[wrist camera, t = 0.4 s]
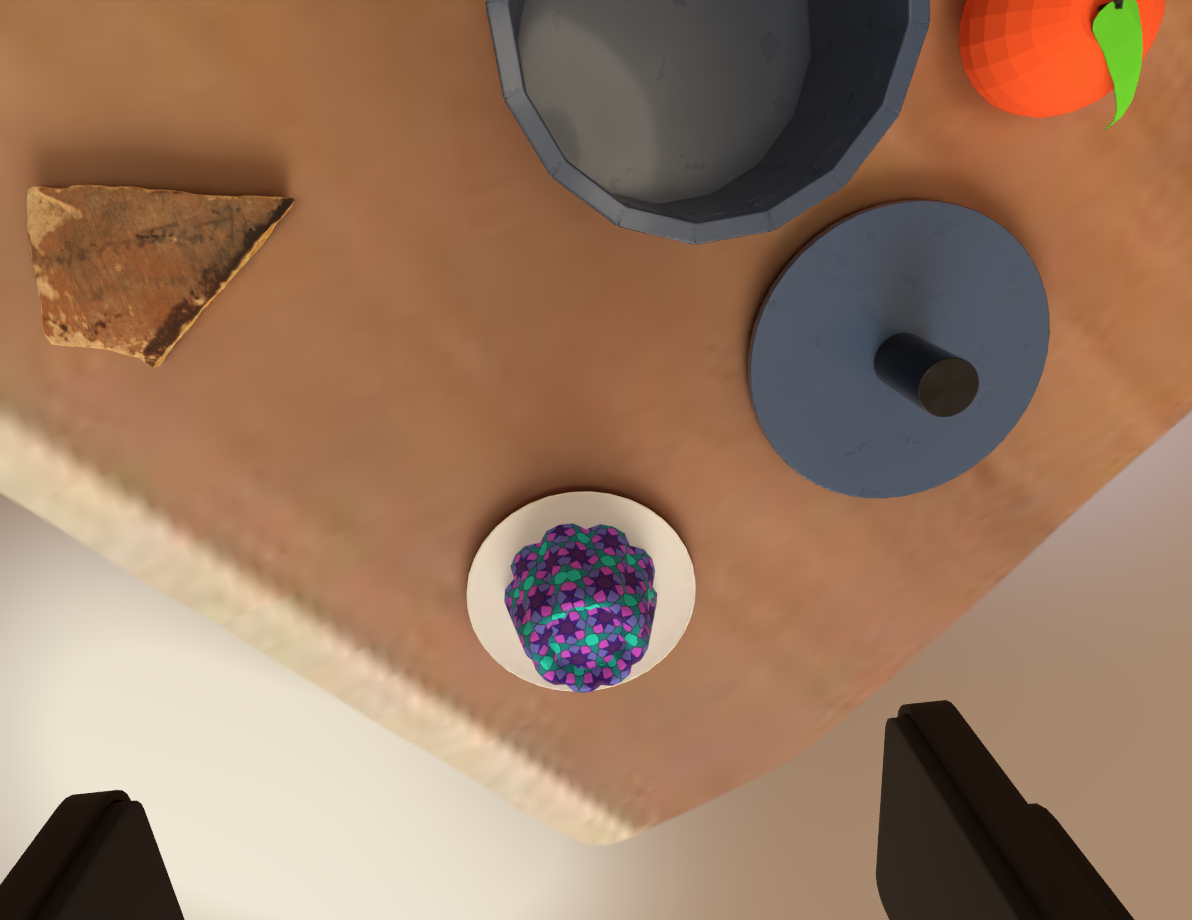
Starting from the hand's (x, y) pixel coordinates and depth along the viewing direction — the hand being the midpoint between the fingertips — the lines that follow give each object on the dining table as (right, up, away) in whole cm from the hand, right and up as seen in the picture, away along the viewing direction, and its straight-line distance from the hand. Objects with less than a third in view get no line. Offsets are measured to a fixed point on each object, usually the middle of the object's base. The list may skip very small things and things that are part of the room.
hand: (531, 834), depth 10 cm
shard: (-19, +15, +25) cm, 34 cm away
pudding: (0, -2, +33) cm, 33 cm away
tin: (+4, +22, +23) cm, 32 cm away
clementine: (+19, +23, +24) cm, 38 cm away
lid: (+15, +10, +28) cm, 34 cm away
